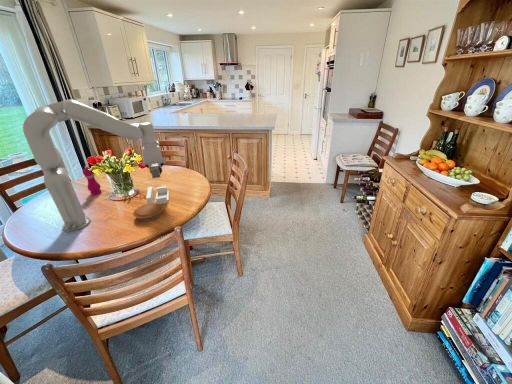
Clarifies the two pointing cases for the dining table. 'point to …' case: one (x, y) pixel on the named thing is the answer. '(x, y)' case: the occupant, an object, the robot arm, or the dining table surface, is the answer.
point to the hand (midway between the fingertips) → (156, 173)
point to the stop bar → (155, 171)
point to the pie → (148, 211)
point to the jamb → (158, 195)
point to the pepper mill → (92, 182)
